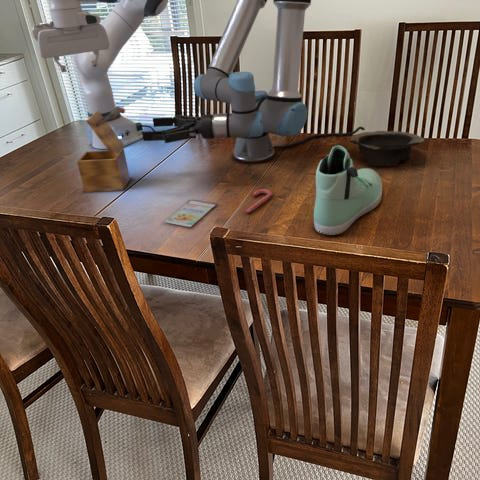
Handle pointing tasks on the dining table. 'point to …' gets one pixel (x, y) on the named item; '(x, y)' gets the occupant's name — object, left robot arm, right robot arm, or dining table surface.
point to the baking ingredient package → (190, 213)
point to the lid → (106, 131)
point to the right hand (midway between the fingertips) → (148, 129)
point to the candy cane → (261, 201)
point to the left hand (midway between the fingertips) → (79, 69)
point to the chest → (103, 171)
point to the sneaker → (343, 192)
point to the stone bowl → (385, 146)
